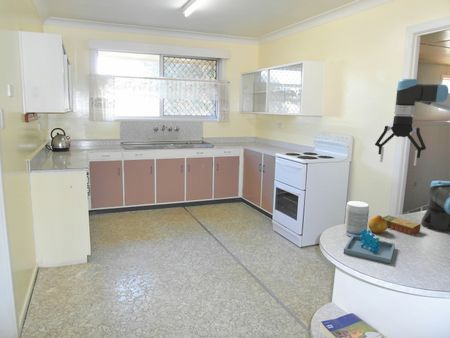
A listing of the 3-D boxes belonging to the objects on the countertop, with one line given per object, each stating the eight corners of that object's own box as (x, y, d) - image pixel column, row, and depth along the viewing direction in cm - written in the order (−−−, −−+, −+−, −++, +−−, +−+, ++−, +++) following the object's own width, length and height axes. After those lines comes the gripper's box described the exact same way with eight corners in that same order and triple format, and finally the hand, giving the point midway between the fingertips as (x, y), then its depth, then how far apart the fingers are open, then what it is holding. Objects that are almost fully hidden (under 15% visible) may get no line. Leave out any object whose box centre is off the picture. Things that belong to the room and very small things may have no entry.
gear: (370, 252, 138) (358, 229, 143) (359, 258, 142) (348, 235, 147) (387, 250, 144) (374, 227, 149) (375, 255, 148) (364, 234, 153)
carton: (411, 236, 162) (412, 227, 161) (378, 226, 175) (379, 217, 174) (419, 232, 167) (421, 223, 167) (387, 222, 180) (387, 214, 179)
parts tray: (394, 248, 148) (395, 243, 147) (389, 264, 133) (390, 259, 133) (352, 239, 156) (352, 235, 156) (343, 253, 142) (343, 248, 141)
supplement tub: (370, 238, 158) (374, 206, 155) (351, 239, 156) (354, 207, 153) (358, 230, 167) (361, 200, 164) (339, 231, 165) (342, 201, 162)
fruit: (384, 232, 159) (386, 215, 161) (365, 229, 163) (367, 213, 166) (387, 236, 165) (389, 219, 168) (368, 233, 170) (370, 217, 172)
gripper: (371, 114, 157) (366, 161, 162) (436, 117, 145) (429, 168, 150) (374, 113, 164) (369, 159, 168) (436, 116, 152) (429, 165, 156)
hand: (397, 163), depth 159 cm, fingers open, 13 cm apart
